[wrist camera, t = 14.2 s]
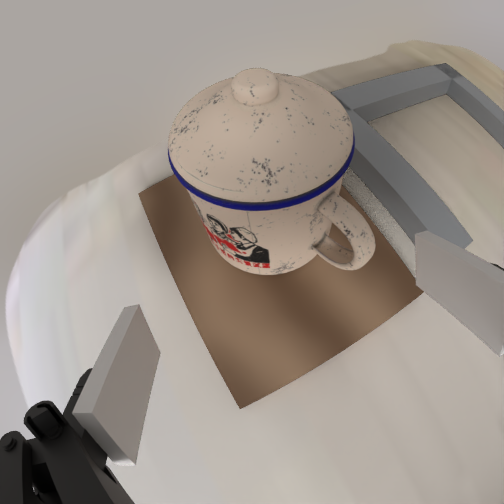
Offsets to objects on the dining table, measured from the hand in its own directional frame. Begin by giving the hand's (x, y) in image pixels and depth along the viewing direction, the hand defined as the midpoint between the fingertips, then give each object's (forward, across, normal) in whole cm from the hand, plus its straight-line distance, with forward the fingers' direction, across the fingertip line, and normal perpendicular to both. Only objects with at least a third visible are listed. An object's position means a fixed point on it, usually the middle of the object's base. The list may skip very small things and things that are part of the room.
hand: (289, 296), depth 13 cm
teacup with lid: (+8, +1, 0) cm, 9 cm away
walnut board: (+9, 0, -1) cm, 9 cm away
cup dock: (+14, +20, +4) cm, 25 cm away
